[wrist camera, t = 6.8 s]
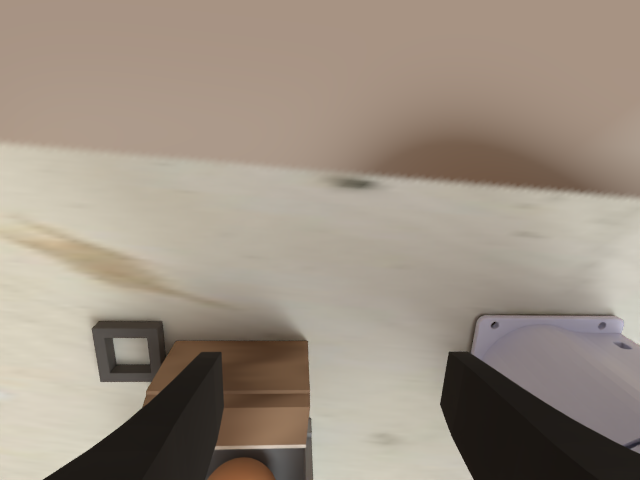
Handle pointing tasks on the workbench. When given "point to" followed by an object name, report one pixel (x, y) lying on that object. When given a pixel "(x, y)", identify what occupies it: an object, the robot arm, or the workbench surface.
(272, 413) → the ramp
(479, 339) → the robot arm
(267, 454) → the gray open storage bin
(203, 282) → the workbench surface
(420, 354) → the workbench surface
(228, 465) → the ball
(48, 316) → the workbench surface
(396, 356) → the workbench surface
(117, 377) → the dark gray picture frame
